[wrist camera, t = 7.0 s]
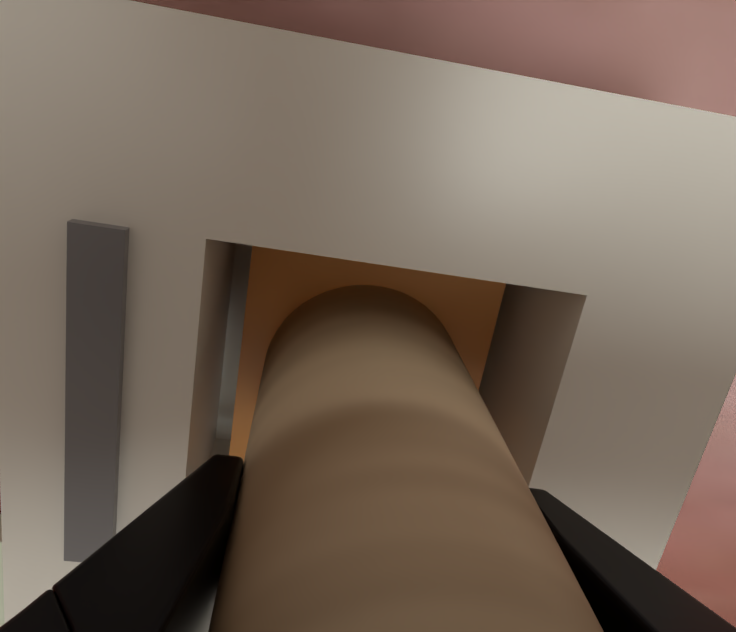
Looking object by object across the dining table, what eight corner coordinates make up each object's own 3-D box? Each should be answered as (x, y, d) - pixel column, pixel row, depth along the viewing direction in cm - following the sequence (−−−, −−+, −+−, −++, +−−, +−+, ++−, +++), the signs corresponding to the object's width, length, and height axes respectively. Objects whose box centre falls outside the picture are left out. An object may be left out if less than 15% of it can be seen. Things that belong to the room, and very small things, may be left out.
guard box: (526, 547, 18) (602, 719, 13) (95, 507, 16) (0, 683, 12) (661, 118, 14) (842, 136, 9) (110, 14, 13) (-24, -32, 8)
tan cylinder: (435, 470, 14) (681, 1290, 4) (253, 450, 13) (85, 1328, 4) (476, 299, 12) (955, 948, 3) (276, 270, 12) (110, 933, 3)
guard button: (441, 452, 15) (453, 489, 14) (236, 429, 15) (227, 465, 13) (488, 257, 14) (507, 277, 12) (260, 222, 13) (252, 239, 12)
